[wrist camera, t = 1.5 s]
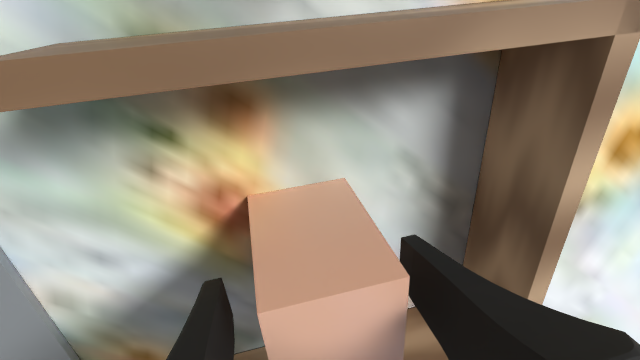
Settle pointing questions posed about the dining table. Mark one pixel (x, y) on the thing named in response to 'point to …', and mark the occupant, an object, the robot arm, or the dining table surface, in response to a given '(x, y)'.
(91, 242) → the dining table surface
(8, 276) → the mat
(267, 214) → the block
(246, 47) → the open frame
